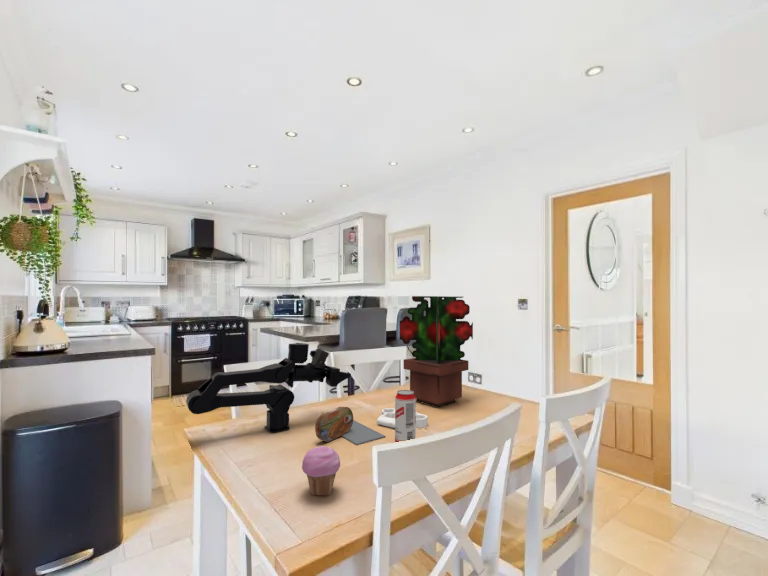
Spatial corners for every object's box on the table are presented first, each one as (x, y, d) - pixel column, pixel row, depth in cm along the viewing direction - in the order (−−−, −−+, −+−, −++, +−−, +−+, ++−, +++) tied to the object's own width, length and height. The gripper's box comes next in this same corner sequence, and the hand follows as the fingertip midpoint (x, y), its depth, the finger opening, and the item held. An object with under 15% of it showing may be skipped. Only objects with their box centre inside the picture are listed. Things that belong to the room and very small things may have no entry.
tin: (320, 445, 112) (319, 417, 112) (313, 443, 114) (312, 415, 114) (354, 429, 124) (353, 404, 124) (347, 427, 126) (346, 402, 126)
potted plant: (432, 392, 176) (433, 296, 177) (472, 402, 159) (472, 296, 160) (399, 400, 161) (399, 296, 162) (439, 412, 144) (440, 296, 145)
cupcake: (339, 501, 82) (339, 455, 82) (299, 503, 81) (299, 456, 81) (340, 481, 91) (341, 439, 91) (304, 482, 90) (305, 440, 90)
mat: (356, 445, 113) (356, 443, 113) (326, 427, 128) (326, 426, 128) (385, 437, 119) (385, 435, 119) (353, 421, 134) (353, 419, 134)
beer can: (401, 450, 109) (401, 395, 109) (391, 443, 114) (391, 390, 115) (419, 447, 112) (419, 393, 112) (408, 439, 117) (408, 388, 118)
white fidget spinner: (369, 424, 132) (391, 414, 144) (414, 435, 122) (433, 423, 134) (369, 415, 132) (391, 405, 144) (414, 425, 122) (433, 413, 134)
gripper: (318, 354, 124) (359, 354, 133) (298, 346, 140) (336, 347, 148) (314, 387, 124) (356, 386, 132) (295, 376, 139) (333, 375, 148)
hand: (345, 372), depth 140 cm, fingers open, 9 cm apart
